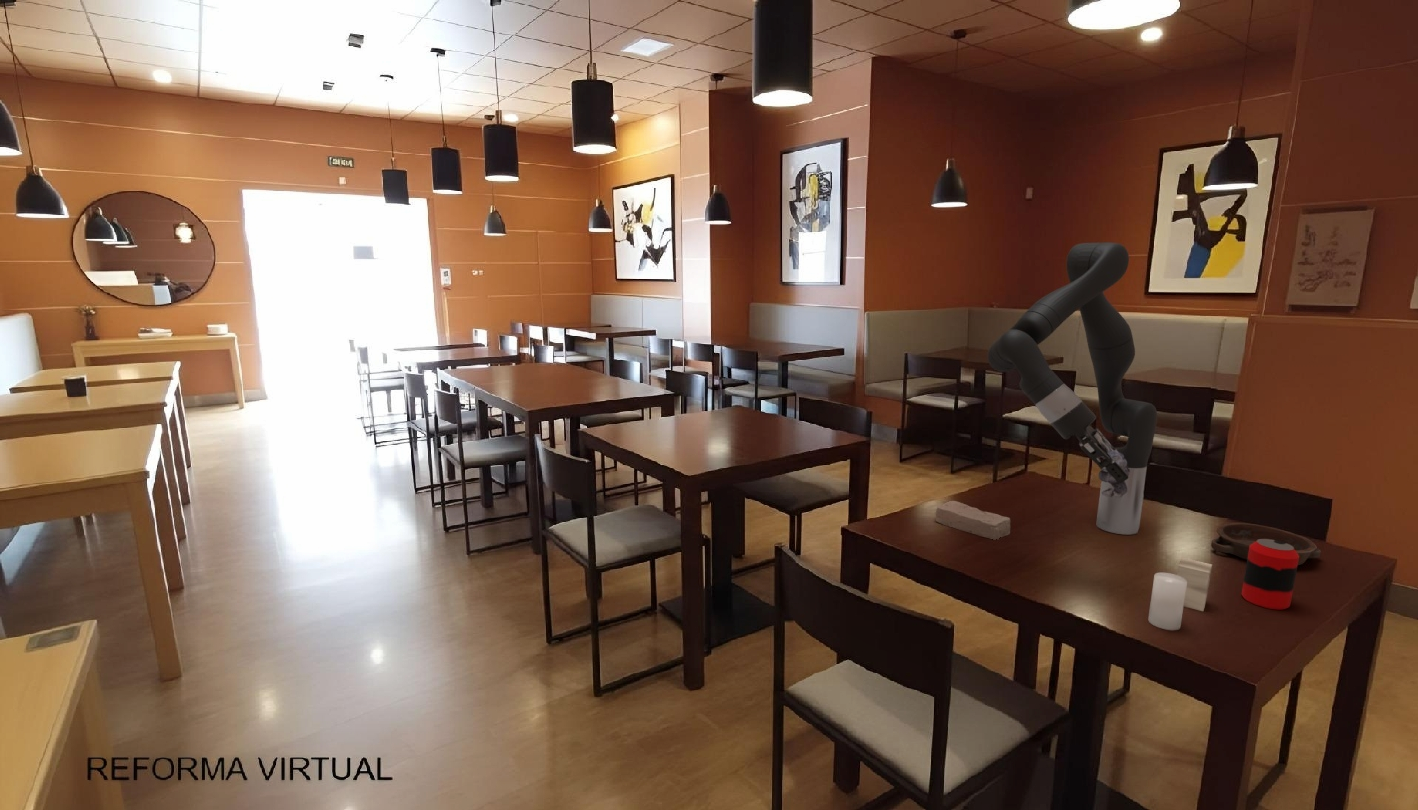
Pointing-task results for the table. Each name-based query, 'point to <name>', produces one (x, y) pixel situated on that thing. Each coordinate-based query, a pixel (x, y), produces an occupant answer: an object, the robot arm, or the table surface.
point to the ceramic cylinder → (1167, 601)
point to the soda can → (1270, 574)
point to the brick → (973, 520)
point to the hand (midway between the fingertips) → (1124, 476)
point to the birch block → (1195, 582)
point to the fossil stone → (1107, 477)
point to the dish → (1243, 535)
